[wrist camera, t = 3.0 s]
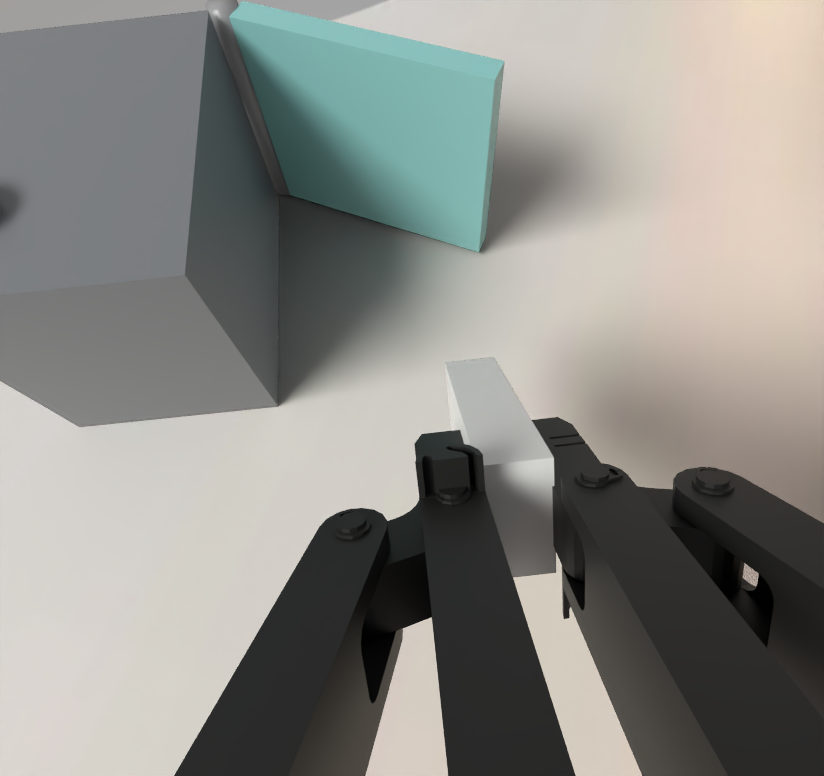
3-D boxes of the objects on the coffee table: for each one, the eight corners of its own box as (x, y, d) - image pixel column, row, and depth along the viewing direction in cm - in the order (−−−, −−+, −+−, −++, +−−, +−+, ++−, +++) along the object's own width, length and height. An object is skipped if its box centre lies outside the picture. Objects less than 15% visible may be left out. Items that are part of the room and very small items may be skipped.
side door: (270, 191, 30) (199, 9, 21) (288, 163, 31) (227, -24, 22) (477, 255, 28) (494, 79, 19) (492, 223, 29) (514, 40, 20)
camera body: (279, 172, 31) (203, -45, 21) (277, 406, 25) (172, 258, 15) (117, 189, 31) (-34, -19, 21) (79, 427, 25) (-152, 292, 15)
